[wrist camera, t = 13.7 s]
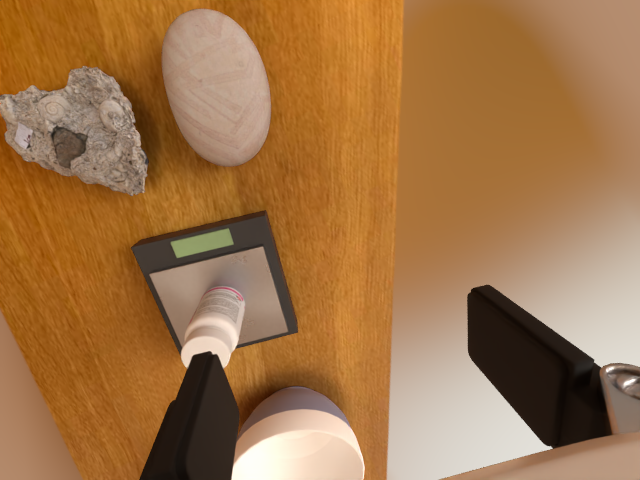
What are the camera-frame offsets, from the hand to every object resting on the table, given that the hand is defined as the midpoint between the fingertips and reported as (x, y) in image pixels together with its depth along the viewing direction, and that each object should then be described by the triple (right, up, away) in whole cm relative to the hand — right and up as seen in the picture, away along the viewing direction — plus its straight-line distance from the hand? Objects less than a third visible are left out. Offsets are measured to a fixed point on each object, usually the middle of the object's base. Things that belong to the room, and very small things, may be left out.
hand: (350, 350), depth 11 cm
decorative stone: (-11, +18, +19) cm, 28 cm away
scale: (-12, -1, +25) cm, 28 cm away
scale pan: (-12, -3, +23) cm, 26 cm away
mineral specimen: (-23, +15, +18) cm, 33 cm away
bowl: (-5, -21, +33) cm, 39 cm away
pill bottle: (-12, -3, +22) cm, 25 cm away
